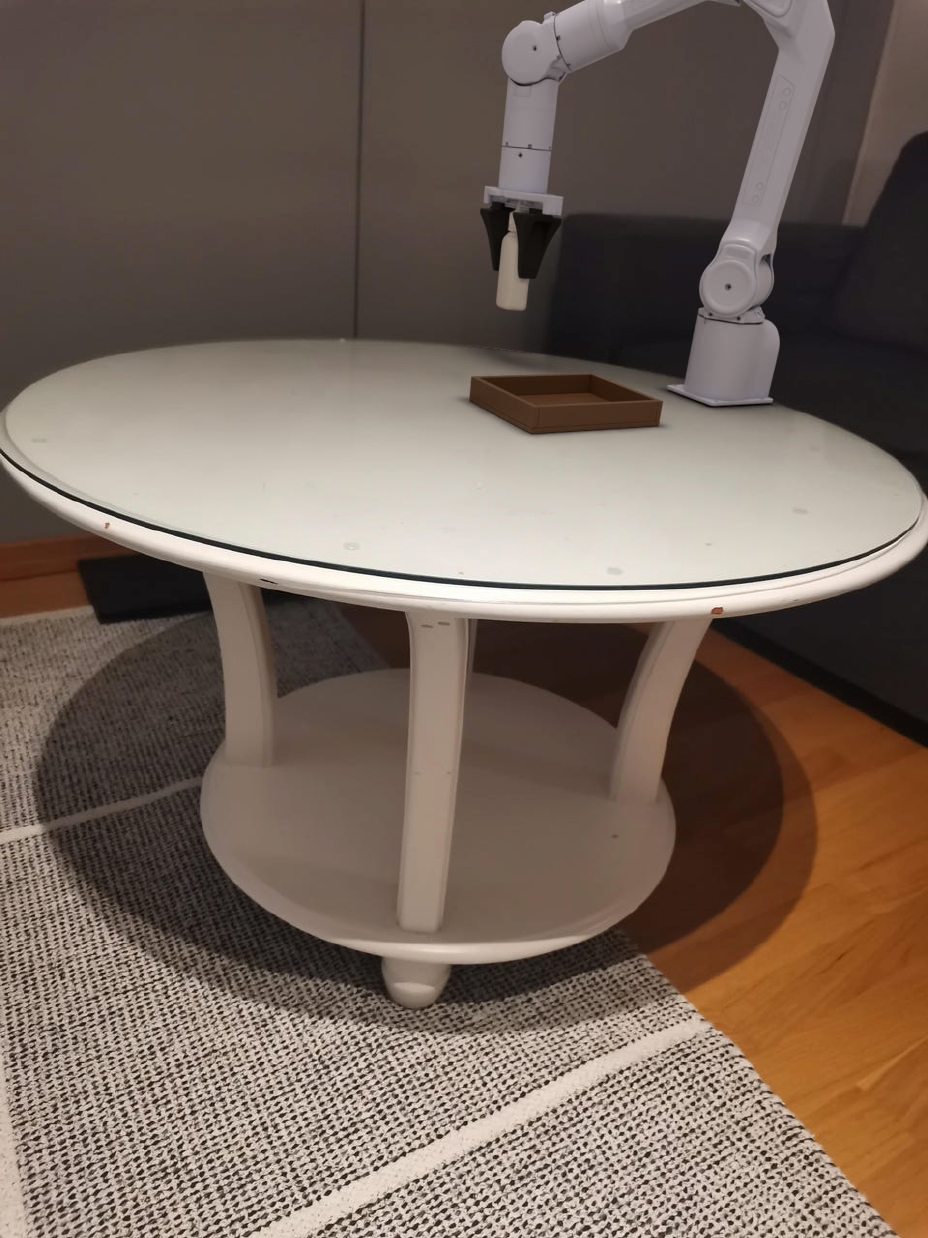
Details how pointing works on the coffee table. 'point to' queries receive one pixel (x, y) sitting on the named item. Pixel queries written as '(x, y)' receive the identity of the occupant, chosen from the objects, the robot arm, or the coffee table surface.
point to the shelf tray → (564, 402)
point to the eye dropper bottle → (511, 271)
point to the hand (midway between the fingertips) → (513, 274)
